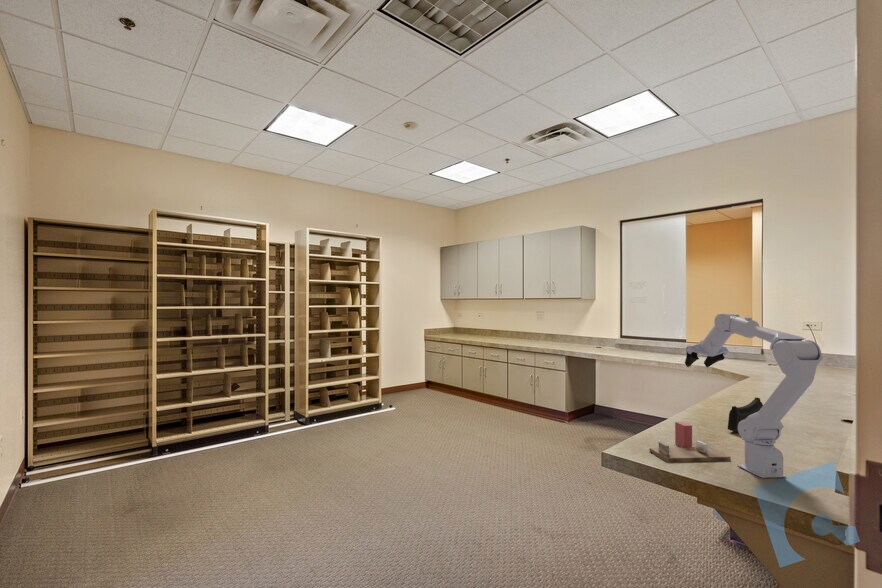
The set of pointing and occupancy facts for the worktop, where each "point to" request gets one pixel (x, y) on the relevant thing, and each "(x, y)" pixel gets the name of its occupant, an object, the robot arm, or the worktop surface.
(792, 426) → the worktop surface
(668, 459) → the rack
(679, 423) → the book
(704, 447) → the sliding bookend
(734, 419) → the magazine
